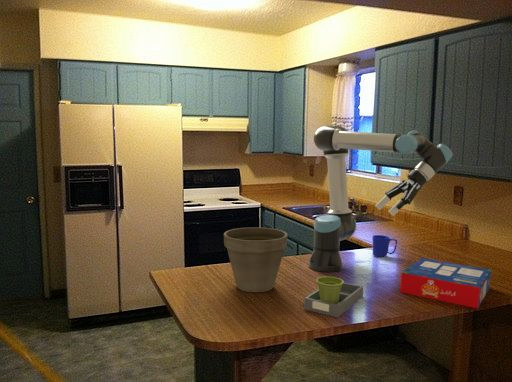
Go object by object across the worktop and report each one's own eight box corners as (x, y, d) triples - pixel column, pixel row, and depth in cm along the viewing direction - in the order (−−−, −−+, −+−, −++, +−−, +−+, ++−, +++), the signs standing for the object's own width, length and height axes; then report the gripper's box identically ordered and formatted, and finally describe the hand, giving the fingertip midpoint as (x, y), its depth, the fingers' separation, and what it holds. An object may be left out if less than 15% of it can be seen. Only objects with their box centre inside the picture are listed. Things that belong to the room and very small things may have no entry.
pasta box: (419, 275, 205) (400, 292, 182) (420, 257, 204) (401, 272, 181) (489, 288, 190) (478, 309, 167) (491, 269, 189) (479, 287, 166)
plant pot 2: (325, 311, 157) (327, 286, 156) (310, 301, 166) (311, 278, 164) (347, 306, 162) (349, 282, 161) (331, 298, 170) (332, 275, 169)
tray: (303, 309, 161) (303, 298, 161) (331, 290, 182) (332, 280, 182) (337, 317, 155) (338, 306, 154) (362, 296, 176) (363, 286, 175)
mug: (396, 259, 230) (398, 239, 228) (371, 257, 232) (372, 238, 231) (395, 255, 238) (396, 236, 236) (371, 253, 240) (372, 234, 239)
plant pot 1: (209, 286, 182) (210, 232, 180) (250, 273, 201) (251, 224, 198) (258, 302, 167) (260, 243, 164) (298, 286, 185) (300, 233, 183)
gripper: (441, 185, 181) (402, 223, 181) (412, 178, 206) (377, 211, 205) (430, 171, 180) (390, 209, 179) (401, 166, 204) (366, 200, 204)
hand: (383, 210), depth 192 cm, fingers open, 13 cm apart
